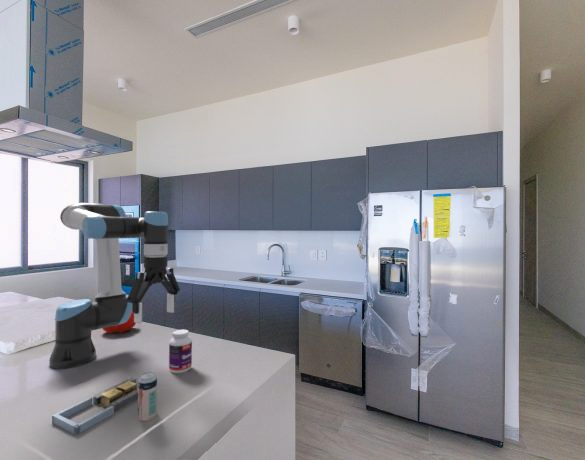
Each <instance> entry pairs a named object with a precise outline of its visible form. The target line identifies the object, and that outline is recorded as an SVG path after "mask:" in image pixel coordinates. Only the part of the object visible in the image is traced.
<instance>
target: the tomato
mask: <svg viewBox="0 0 585 460" xmlns="http://www.w3.org/2000/svg"><path fill="white" fill-rule="evenodd" d="M136 324H137V323H134V313H133V312H132V311H131V315H130V317H129V319H128V321H127V322H125V323H123V324H119V325H117V326H110V327H106V328H101V329H102V330H103V331H104V332H107V333H109V334H115V333H124V332H127V331H128V330H131V329H133V328H134V327H135V326H136Z"/></svg>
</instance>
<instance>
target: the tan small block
mask: <svg viewBox="0 0 585 460" xmlns="http://www.w3.org/2000/svg"><path fill="white" fill-rule="evenodd" d="M121 397H122V391H120V390H118V389H115V388H113V389H111V390H109V391H107V392H105V393H103V394H101V405H103V406H106V407H110V403H112V402H114V401H115V400H117V399H119V398H121Z"/></svg>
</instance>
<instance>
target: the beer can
mask: <svg viewBox="0 0 585 460" xmlns="http://www.w3.org/2000/svg"><path fill="white" fill-rule="evenodd" d="M137 385H138V399H137V418H138V420H139V421H141V422H146V421H151V420H152V419H154V418H156V416H157V413H158V412H157V411H158V403H157V402H158V376H157V374H156V373H155V372H152V371H149V372H144V373H142V374H141V375H140V376H139V378H138V381H137Z"/></svg>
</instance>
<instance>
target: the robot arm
mask: <svg viewBox="0 0 585 460" xmlns="http://www.w3.org/2000/svg"><path fill="white" fill-rule="evenodd" d="M143 216H144V217H143ZM143 216H140V217H139V216H137V217H135V216H132V217H131V216H127V214H126V212H125V210H124V208H123V207H122V205H118V204H113V203H111V204H110V203H94V202H93V203H90V202H78V203H72V204H70V205H67V206H65V207H64V208H63V209H62V210H61V213H60V216H59V217H60V219H59V220H60V221H61V223H62V224H63V225H64V226H65V227H66V228H69V229H71V230H76V231H77V230H81V232H82V234H83V237H84V238H85V239H94V240H96V259H97V260H96V261H97V277H98V278H97V281H98V293H97V294H96V295H95V297H94V301H92V299H89V298H83V299H75V300H71V301H69V302H65V303H62V304H61V305H59V306H58V307H57V308H56V310H55V316H54V322H55V325H54V326H55V331H54V332H55V336H54V338H55V339H54V340H55V341H54V347H53V349H52V352H51V355H50V357H49V360H48V361H49V367H51V368H53V369H69V368H73V367H74V368H75V367H77V366H82V365H84V364H85V365H86V364H87V363H89V362H91V361H93V360H94V359H95V358H96V357H97V350H96V347H95V345H94V342H93V339H92V331H97V330H101V329H102V328H106V327H110V326H117V325H119V324H123V323H125V322H127V321H128V319H129V317H130V315H131V312H133V313H134V323H136V324H140V325H141V324H142V323H143V303H142V302H141V301H142V300H143V298H144V296H145V295H146V293H147V292H148V290H149V289H150V287H152V285H155V284H157V283H158V284H159V283H161V285H162V286H163V287H164V288H165V290H166V291H167V292H168V293H167V294H166V313H171V314H174V313H175V303H176V295H178V292H180V290H181V288H180V286H179V284H178V282H177V279H176V276H175V274H174V272H175V271H174V268H173V267H168V263H169V262H168V256H167V255H168V247H169V246H168V242H169V217H168V216H169V214H168V213H167V212H166V211H151V210H150V211H145V212H144V215H143ZM120 239H143V255H144V257H143V268H144V272H141V271H137V272H136V273H135V278H134V282H133V284H132V286H131V289H130V291H129V293H128V296H127V294H126V292H125V291H124V290H123V289H122V288H123V287H122V274H121V272H122V271H121V259H120V257H121V254H120Z"/></svg>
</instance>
